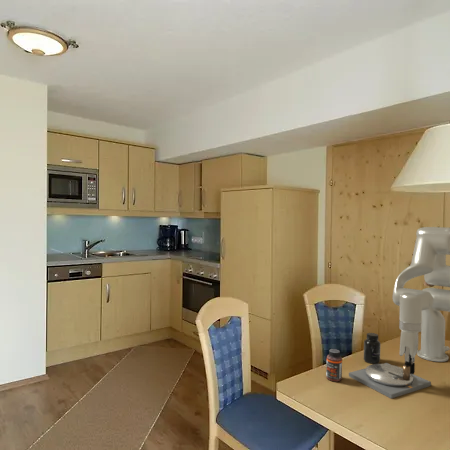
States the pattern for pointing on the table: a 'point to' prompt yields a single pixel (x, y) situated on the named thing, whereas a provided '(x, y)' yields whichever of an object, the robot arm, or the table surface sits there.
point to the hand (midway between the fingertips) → (409, 372)
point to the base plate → (389, 390)
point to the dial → (390, 374)
